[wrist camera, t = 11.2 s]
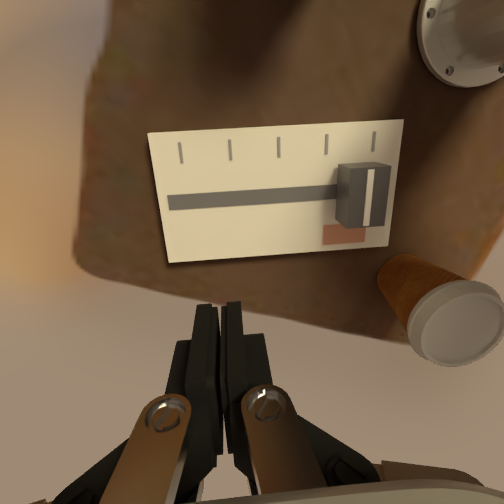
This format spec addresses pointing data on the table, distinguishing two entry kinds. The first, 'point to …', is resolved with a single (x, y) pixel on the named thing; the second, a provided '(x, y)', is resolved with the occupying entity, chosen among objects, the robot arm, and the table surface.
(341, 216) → the fader knob
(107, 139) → the table surface
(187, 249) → the fader console
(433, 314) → the disposable coffee cup
